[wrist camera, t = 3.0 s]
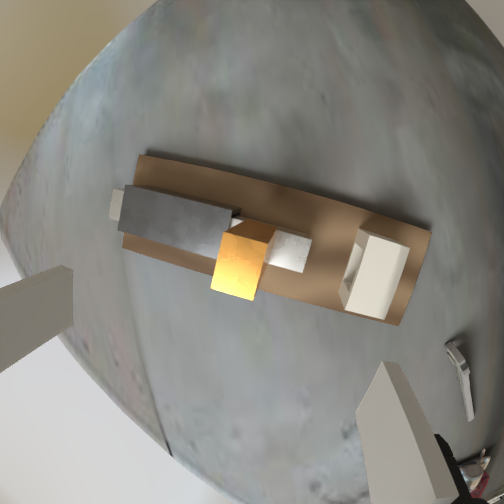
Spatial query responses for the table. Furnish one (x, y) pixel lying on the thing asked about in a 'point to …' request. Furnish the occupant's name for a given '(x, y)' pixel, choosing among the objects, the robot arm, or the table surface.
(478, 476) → the brake caliper
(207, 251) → the outer sleeve
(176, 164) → the base board
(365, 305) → the socket block
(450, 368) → the table surface
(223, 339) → the table surface
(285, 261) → the stacked block assembly
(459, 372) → the caliper
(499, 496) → the miniature set
